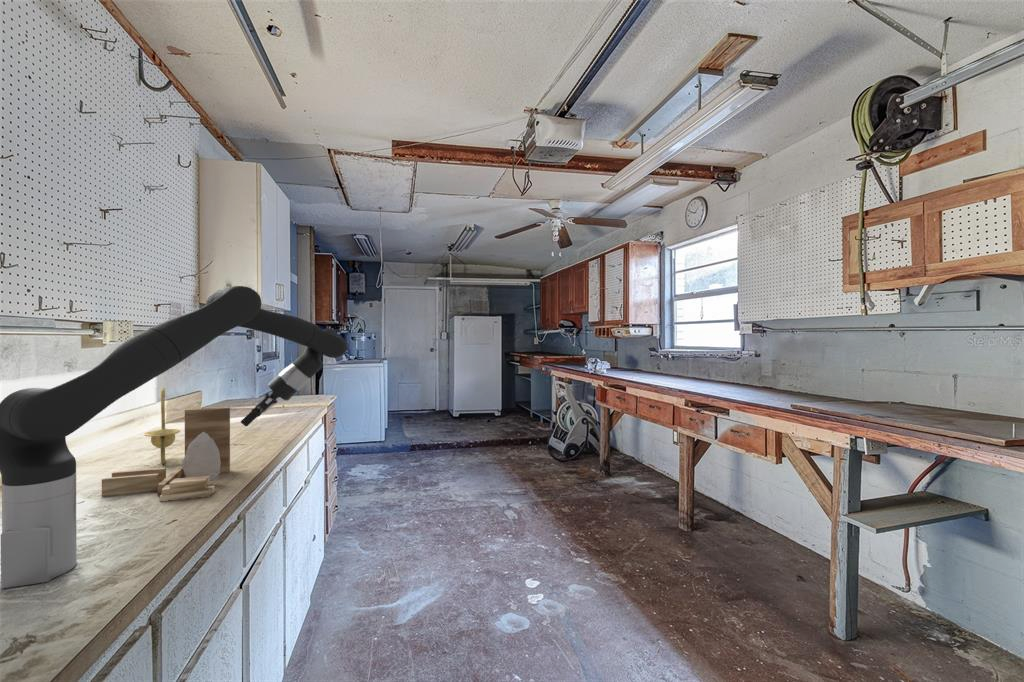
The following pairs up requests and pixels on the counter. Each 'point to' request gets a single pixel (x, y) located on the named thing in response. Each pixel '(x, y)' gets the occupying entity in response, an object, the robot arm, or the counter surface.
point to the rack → (213, 425)
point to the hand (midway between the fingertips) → (246, 421)
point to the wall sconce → (162, 432)
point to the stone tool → (202, 458)
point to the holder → (133, 481)
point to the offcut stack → (187, 488)
